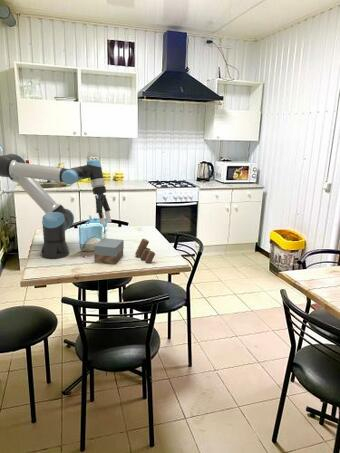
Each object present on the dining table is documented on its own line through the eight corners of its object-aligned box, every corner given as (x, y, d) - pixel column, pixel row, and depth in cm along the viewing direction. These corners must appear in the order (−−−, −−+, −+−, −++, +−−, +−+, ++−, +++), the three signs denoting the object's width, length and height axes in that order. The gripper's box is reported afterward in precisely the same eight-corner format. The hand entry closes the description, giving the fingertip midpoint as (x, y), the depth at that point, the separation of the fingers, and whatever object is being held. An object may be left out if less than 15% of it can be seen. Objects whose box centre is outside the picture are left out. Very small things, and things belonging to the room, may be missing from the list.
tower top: (94, 254, 185) (94, 245, 184) (103, 246, 198) (103, 238, 197) (115, 256, 183) (115, 247, 182) (123, 248, 196) (123, 239, 195)
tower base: (94, 263, 186) (94, 254, 185) (103, 254, 200) (103, 246, 198) (116, 265, 185) (116, 256, 184) (123, 256, 198) (123, 247, 197)
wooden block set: (152, 267, 189) (160, 251, 188) (138, 262, 186) (146, 246, 184) (145, 254, 206) (153, 239, 204) (132, 250, 203) (140, 234, 201)
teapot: (81, 234, 235) (81, 219, 232) (90, 228, 249) (89, 214, 246) (102, 236, 232) (101, 221, 230) (109, 229, 247) (109, 216, 244)
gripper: (98, 184, 183) (106, 223, 185) (110, 186, 208) (117, 220, 210) (85, 187, 184) (93, 226, 186) (98, 188, 209) (105, 222, 211)
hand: (106, 223), depth 198 cm, fingers open, 13 cm apart
